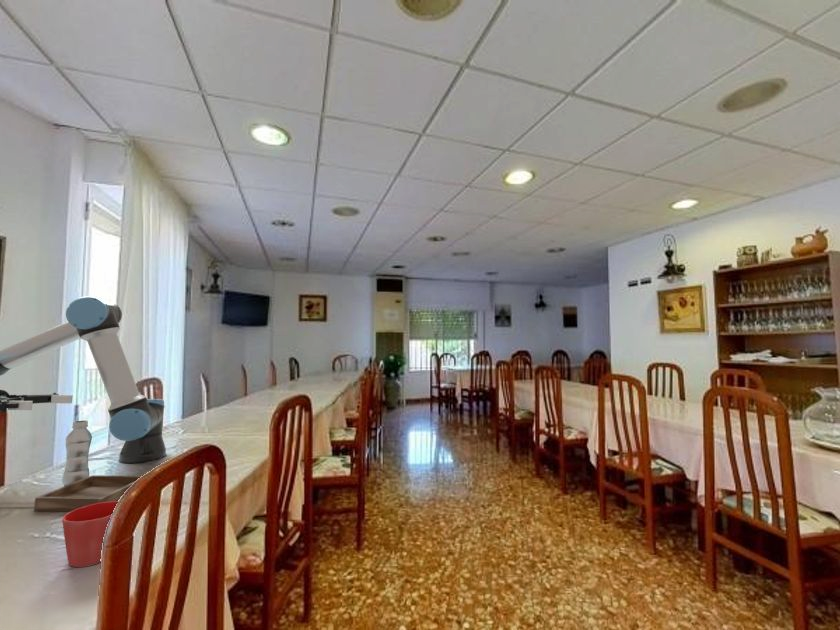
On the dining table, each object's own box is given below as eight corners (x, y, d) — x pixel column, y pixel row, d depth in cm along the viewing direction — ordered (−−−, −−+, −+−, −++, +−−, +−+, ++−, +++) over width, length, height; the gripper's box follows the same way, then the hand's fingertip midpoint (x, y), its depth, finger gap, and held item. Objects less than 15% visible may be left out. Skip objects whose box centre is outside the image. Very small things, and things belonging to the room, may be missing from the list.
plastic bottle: (72, 489, 117) (78, 424, 119) (55, 487, 119) (61, 422, 120) (94, 482, 123) (99, 420, 125) (77, 480, 125) (82, 419, 126)
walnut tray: (91, 486, 120) (92, 475, 120) (148, 487, 120) (148, 476, 120) (33, 511, 102) (35, 498, 102) (100, 512, 102) (101, 499, 102)
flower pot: (85, 545, 86) (89, 500, 87) (136, 543, 87) (139, 500, 88) (43, 573, 75) (47, 522, 76) (101, 571, 76) (105, 521, 77)
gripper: (25, 406, 135) (84, 407, 135) (-64, 420, 110) (9, 421, 110) (27, 385, 136) (86, 386, 136) (-61, 394, 111) (12, 395, 111)
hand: (52, 402), depth 123 cm, fingers open, 13 cm apart
